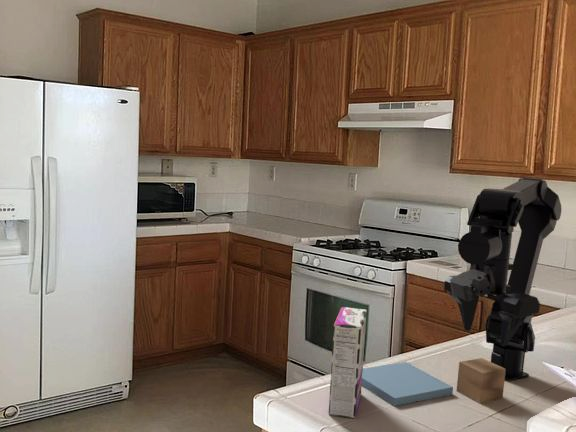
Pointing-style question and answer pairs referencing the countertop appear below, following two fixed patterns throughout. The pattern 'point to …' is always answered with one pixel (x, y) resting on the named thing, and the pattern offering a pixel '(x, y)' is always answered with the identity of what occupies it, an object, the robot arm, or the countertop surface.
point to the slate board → (403, 383)
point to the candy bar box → (347, 362)
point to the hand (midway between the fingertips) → (484, 338)
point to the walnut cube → (481, 380)
